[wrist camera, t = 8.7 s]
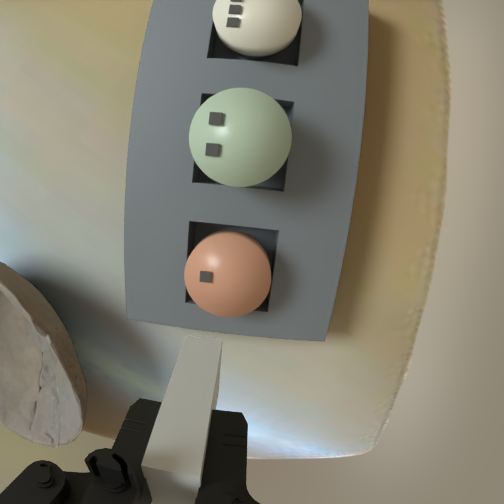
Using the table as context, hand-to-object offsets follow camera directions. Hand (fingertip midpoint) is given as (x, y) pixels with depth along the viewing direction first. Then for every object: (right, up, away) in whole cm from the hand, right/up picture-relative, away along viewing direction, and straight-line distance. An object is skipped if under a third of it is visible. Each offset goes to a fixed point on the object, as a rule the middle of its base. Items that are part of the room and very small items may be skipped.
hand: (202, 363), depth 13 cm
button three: (+2, +23, +9) cm, 25 cm away
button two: (+1, +13, +10) cm, 17 cm away
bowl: (-27, -5, +20) cm, 34 cm away
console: (+1, +14, +14) cm, 20 cm away
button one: (0, +4, +15) cm, 16 cm away
